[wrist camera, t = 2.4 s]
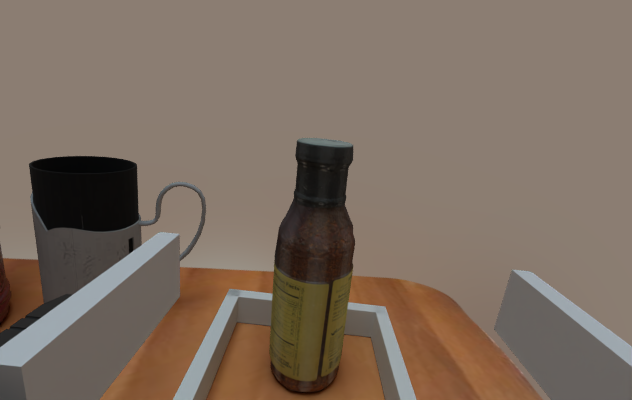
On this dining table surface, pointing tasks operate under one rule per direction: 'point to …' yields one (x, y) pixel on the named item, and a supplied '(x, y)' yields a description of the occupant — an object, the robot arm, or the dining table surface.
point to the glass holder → (87, 218)
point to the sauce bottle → (313, 269)
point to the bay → (258, 311)
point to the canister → (4, 291)
